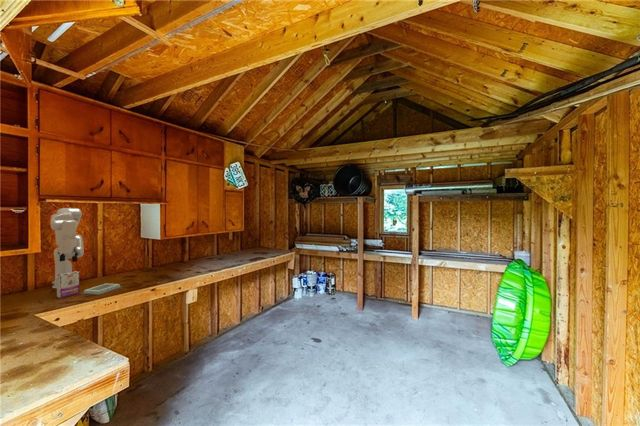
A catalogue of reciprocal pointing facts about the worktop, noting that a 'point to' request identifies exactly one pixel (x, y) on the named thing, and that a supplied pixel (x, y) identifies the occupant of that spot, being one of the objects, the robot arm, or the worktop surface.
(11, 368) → the worktop surface
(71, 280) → the candy bar box
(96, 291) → the light blue tray
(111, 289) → the rubber mat
